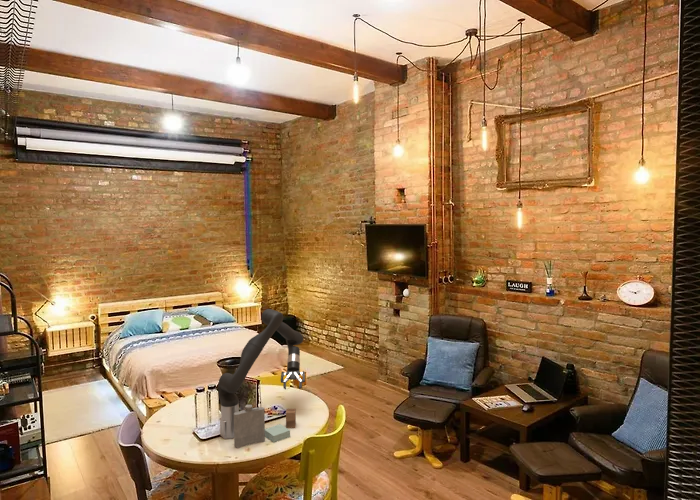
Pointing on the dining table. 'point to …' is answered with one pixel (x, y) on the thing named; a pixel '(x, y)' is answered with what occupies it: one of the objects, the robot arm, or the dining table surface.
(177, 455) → the dining table surface
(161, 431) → the dining table surface
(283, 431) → the plinth block
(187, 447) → the dining table surface
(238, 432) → the hip flask
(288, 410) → the walnut block
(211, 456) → the dining table surface
